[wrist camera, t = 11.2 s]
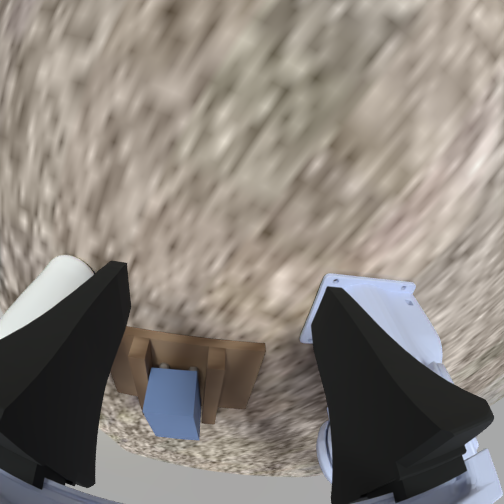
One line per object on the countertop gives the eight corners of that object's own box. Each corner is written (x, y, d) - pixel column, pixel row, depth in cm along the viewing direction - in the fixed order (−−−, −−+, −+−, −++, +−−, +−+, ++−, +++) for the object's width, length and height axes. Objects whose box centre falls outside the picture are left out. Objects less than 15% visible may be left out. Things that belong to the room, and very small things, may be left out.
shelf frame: (264, 343, 27) (267, 372, 24) (245, 402, 33) (246, 426, 30) (101, 321, 25) (89, 348, 22) (119, 385, 31) (113, 408, 28)
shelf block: (201, 400, 29) (199, 440, 24) (161, 397, 28) (155, 436, 24) (197, 371, 26) (193, 416, 21) (151, 367, 25) (142, 411, 21)
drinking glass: (51, 297, 23) (-14, 424, 10) (40, 237, 20) (-60, 371, 7) (110, 313, 24) (59, 461, 12) (106, 252, 21) (19, 422, 8)
